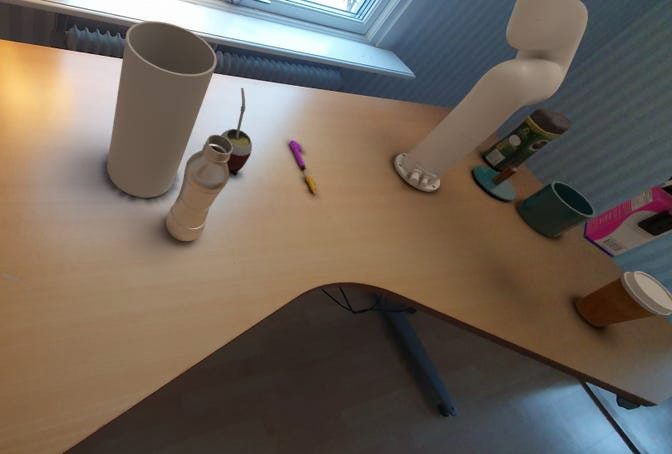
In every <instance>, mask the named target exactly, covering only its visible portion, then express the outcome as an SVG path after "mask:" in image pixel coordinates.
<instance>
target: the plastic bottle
mask: <svg viewBox="0 0 672 454" xmlns="http://www.w3.org/2000/svg"><path fill="white" fill-rule="evenodd" d="M232 150H233V146H232V144H231V142H230V141H229V140H228V139H226V138H225V137H223V136H221V134H211V135H209V136H208V137H207V138H206V141H205V143H204V144H203V145H202V149H201V150H199V151H197V152H195V153H193V154H192V155H191V156H190V157H189V158H188V160H187V161H186V164H185V167H184V172H183V178H182V183H181V187H180V190H179V193H178V195H177V197H176V199H175V201H174V202H173V204H172V206H171V207H170V208H169V210H168V211H167V214H166V221H165V225H166V228H167V231H168V233H169V234H170V235H171V236H172V237H173V238H174V239H176V240H178V241H181V242H191V241H194V240H196V239H197V238H198V237H199V236H200V235H201V234H202V233H203V231H204V228H205V225H206V220H207V217H208V213H209V211H210V208H211V207H212V205H213V203H214V202H215V200H216V199H217V197H218V196H219V194H220V193H221V192H222V191H223V190H224V189H225V187H226V185H227V184H228V182H229V175H230V172H229V169H228V165H227V162H228V160H229V158H230V154H231V152H232Z"/></svg>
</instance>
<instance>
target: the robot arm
mask: <svg viewBox="0 0 672 454" xmlns="http://www.w3.org/2000/svg"><path fill="white" fill-rule="evenodd" d="M588 13H589V12H588V8H587V7H586V5H585V4H584V3H583V2H582V1H581V0H516V2H515V4H514V7H513V10H512V12H511V15H510V17H509V21H508V23H507V26H506V29H505V39H506V41H507V44H508V45H510V46H511V47H512V48H514V49H516V50H518V51H517V53H516V56H515V58H513V59H509V60H505V61H502V62H500V63H498V64H497V65H494V66H493V67H492V68H490V69H489V70H488V71H486V73H484V74H483V75H482V76H481V77H480V79H478V81H477V82H476V83H475V84H474V86H473V87H472V88H471V90H470V91H469V92H468V93H467V94H466V95H465V96H464V98H463V99H462V100H461V101H460V102H459V103H458V104H457V105H456V106H455V107H454V108H453V109H452V110H450V112H449V113H448V114H447V115H446V116H445V117H444V118H443V119H442V120H441V121H440V122H439V123H438V124H437V125H436V126H435V127H434V128H433V129H432V130H431V131H430V132H429V133H428V134H427V135H426V136H425V137H424V138H423V139H422V140H421V141H420V142H419V143H418V144H417V145H416V146H415V147H414V148H412V150H410V152H409V153H405V152H404V153H399V154H398V155H397V156H396V157H395V159H394V161H393V163H394V164H393V165H394V168H395V170H396V172H397V174H399V176H400V177H401V178H402V179H403V180H404V181H405V182H406V183H408V184H409V185H410V186H411V187H413V188H415V189H417V190H419V191H422V192H427V193H432V192H435V191H436V190H437V189H439V188H440V186H441V178H442V177H443V176H444V175H445V174H446V173H448V172H449V171H450V170H451V169H452V168H454V166H456V165H457V164H459V163H460V162H461V161H462V160H464V159H465V158H466V157H467V156H469V154H470V153H472V152H473V151H474V150H475V149H476V148H478V147H479V146H480V145H481V144H482V143H483V142H484V141H485V140H488V138H489V137H490V136H491V135H493V134H494V133H495V132H496V131H498V129H499V128H501V127H502V125H504V124H505V122H507V120H509V118H511V117H512V115H514V114H515V113H516V112H517V111H518V110H520V109H521V108H524V107H529V106H533V105H537V104H541V103H543V102H544V101H546V100H548V99H550V97H552V96H553V95H554V94H555V93H556V92H557V91H558V90H559V88H560V87H561V85H562V83H563V81H564V80H565V77H566V75H567V73H568V71H569V68H570V66H571V63H572V61H573V59H574V57H575V55H576V52H577V50H578V48H579V45H580V43H581V41H582V38H583V37H584V34H585V31H586V28H587V26H588V25H587V24H588V20H589V19H588V18H589V14H588ZM657 186H658V187H660V188H661V189H663V190H664V191H666V192H667V193H669V194H671V195H672V175H671V176H670V178H669V179H668V180H667V181H664V182H662V183H659V184H658V185H657ZM637 225H638V227H640V228H641V229H643V230H645V231H646V232H648V233H649V234H651V235H653V236H658V235H660V234H662V233H665V232H667V231H669V230H672V210H671V211H670V212H669V211H667V210H664V211H662V212H660V213H658V214H656V215H654V216H651V217H649V218H647V219H645V220H643V221H641V222H639V223H637Z"/></svg>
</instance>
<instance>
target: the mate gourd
mask: <svg viewBox="0 0 672 454" xmlns="http://www.w3.org/2000/svg"><path fill="white" fill-rule="evenodd" d="M240 91H241V106H240V113H239V114H240V115H239V119H238V123H237V128H231V129H227V130H225V131H223V132H222V134H220V136H223V137H225V138H226V139H228V140H229V141H230V142H231V144H232V146H233V150H232V152H231V154H230V158H229V160H228V162H227V165H228V169H229V174H231V175H233V176H234V177H236V176H237V175H238V174H239V171H240V170H241V169H242V168H244V166H245V164H246V163H247V162H248V160H249V158H250V157H251V153H252V151H253V143H252V140H251V138H250V136H249V135H248V134H247V133H246V132H244V131H243V130H241V126H242V122H243V119H244V118H243V117H244V113H245V111H246V98H245V97H246V96H245V89H244V87H241V88H240Z"/></svg>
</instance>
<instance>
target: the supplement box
mask: <svg viewBox="0 0 672 454" xmlns="http://www.w3.org/2000/svg"><path fill="white" fill-rule="evenodd" d="M658 186H659V185H655V186H653V187H651V188H649V189H647V190H645V191H644V192H643V191H642V192H641V193H639V194H638V195H636V196H634V197H632V198H630V199H627V200H626V201H624V202H623V203H620V204H618V205H617V206H615V207H613V208H611V209H608V210H607V211H604V212H603V213H601V214H599V215H596V216H594V218H592V219H590V220H588V221H586V222H584V226H583V227H584V229H583V234H582V238H583V239H584V240H586V241H588V242H589V243H590V244H592V245H593V246H594V247H596V248H598V249H599V250H600V251H601V252H603V253H605V254H606V255H607V256H608V257H610V258H614V257H616V256H617V257H618V256H619V255H621V254H624V253H627V252H628V251H631V250H633V249H635V248H637V247H640V246H642V245H644V244H647V243H649V242H651V241H653V240H656V239H658V238H660V237H663V236H665V235H668V234H670V233H672V230H669V231H667V232H665V233H662V234H660V235H658V236H653V235H651V234H649V233H648V232H646V231H645V230H643V229H641V228H640V227H638V225H637V223H639V222H641V221H643V220H645V219H647V218H649V217H651V216H654V215H656V214H658V213H660V212H662V211H664V210H667V211H669V212H670V211H671V210H672V195H671V194H669V193H667V192H666V191H664V190H663V189H661V188H660V187H658Z"/></svg>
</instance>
